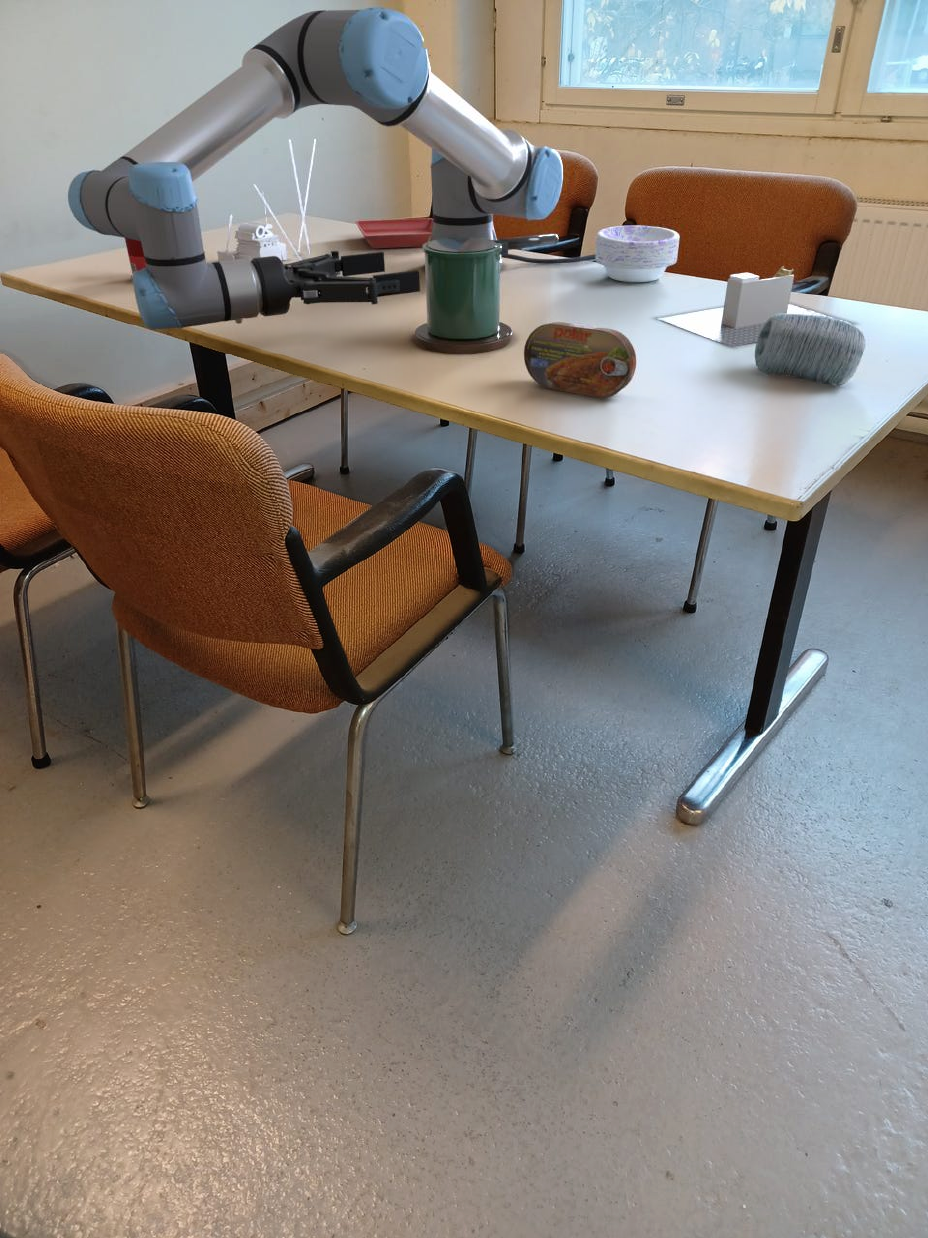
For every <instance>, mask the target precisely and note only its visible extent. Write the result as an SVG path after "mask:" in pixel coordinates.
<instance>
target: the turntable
mask: <svg viewBox="0 0 928 1238" xmlns="http://www.w3.org/2000/svg"><path fill="white" fill-rule="evenodd" d="M512 341H513V329H512V327H511V326H510V325H508V324H506V323H504V322H501V321H499V331H498V332H497V333H495V334H493V335H491V336H487V337H483V338H477V339H448V338H442V337H438V336H435V335H432V334H430V333H429V332H428V330H427V322H425V323H423V324H420V325H419V326H418V327H416V328H415V329H414V342H415V344H416V345H417V346H419V347H421V348H423V349H425V350H428V351H433V352H437V353H442V354H456V355H457V354H458V355H460V354H463V355H465V354H480V353H486V352H493V351H497V350H499V349H503V348H505V347H507V346H508V345H509V344H511V343H512Z"/></svg>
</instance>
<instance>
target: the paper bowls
mask: <svg viewBox="0 0 928 1238" xmlns="http://www.w3.org/2000/svg"><path fill="white" fill-rule="evenodd" d="M595 241H596V242H595V254H596V255H595V259H594V260H595V262H596V263H597V264H599V265H601V266H603V268H604V270H605V273H606V275H607V276H608V277H609V278H611V280H615V281H618V282H625V283H649V282H653V281H656V280H658V279H659V278H661V277H662V276H663V275H664V273H665V271H666V270H667V268H668V267H670V266H673V265H675V264H676V263H677V261H678V255H679V254H678V253H679V244H680V234H679V233H678V232H677V231H675V230H674V229H669V228H665V227H660V226H651V225H639V224H638V225H618V226H617V225H616V226H610V227H606V228H603V229H600V230H599V231H598V232H596V239H595Z"/></svg>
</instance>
